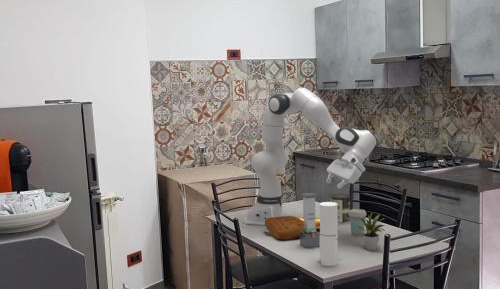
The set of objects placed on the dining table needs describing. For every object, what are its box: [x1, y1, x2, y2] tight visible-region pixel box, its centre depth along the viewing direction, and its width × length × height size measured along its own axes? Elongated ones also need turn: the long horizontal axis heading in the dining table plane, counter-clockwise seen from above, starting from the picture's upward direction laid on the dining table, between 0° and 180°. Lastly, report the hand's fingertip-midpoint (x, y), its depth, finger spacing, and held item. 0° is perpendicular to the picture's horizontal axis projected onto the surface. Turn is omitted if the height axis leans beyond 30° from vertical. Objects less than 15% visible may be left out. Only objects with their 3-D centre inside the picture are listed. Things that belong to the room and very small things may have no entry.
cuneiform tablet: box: [264, 215, 304, 241], centre depth 247 cm, size 22×17×8 cm
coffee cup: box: [349, 208, 367, 238], centre depth 245 cm, size 8×8×12 cm
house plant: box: [357, 212, 386, 251], centre depth 224 cm, size 14×14×16 cm
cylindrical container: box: [319, 201, 339, 267], centre depth 207 cm, size 7×7×25 cm
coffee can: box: [329, 193, 351, 225], centre depth 269 cm, size 10×10×14 cm
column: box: [300, 192, 318, 234], centre depth 226 cm, size 5×5×18 cm
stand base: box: [299, 230, 320, 250], centre depth 228 cm, size 12×12×8 cm
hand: (332, 185), depth 229 cm, fingers open, 8 cm apart
